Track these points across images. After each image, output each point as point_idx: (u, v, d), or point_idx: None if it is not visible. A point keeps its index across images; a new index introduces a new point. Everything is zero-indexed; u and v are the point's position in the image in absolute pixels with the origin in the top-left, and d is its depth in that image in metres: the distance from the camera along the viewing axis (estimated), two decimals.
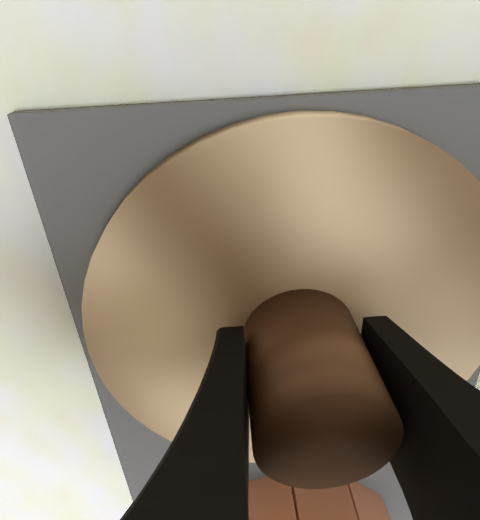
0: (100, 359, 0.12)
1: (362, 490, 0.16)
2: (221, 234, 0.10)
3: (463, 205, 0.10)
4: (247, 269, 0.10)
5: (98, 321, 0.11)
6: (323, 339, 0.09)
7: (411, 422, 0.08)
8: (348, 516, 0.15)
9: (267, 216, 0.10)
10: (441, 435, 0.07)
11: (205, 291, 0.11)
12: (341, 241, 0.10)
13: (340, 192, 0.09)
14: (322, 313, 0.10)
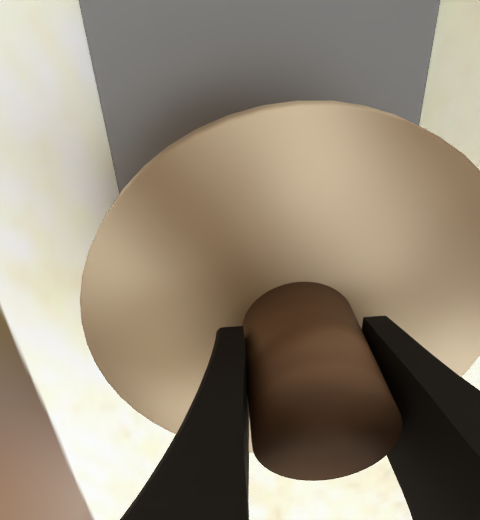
0: (100, 352, 0.12)
1: None
2: (220, 227, 0.10)
3: (464, 197, 0.10)
4: (246, 262, 0.10)
5: (97, 315, 0.11)
6: (322, 333, 0.09)
7: (411, 423, 0.08)
8: None
9: (266, 209, 0.09)
10: (441, 435, 0.07)
11: (204, 284, 0.10)
12: (340, 234, 0.10)
13: (340, 184, 0.09)
14: (321, 306, 0.10)
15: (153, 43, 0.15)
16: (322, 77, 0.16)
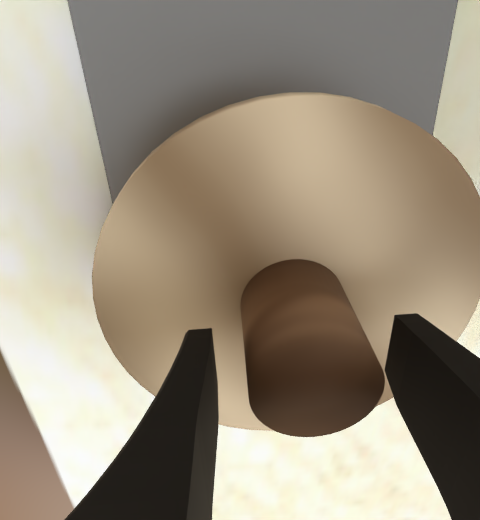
0: (109, 327, 0.12)
1: None
2: (220, 207, 0.11)
3: (440, 179, 0.11)
4: (244, 240, 0.11)
5: (107, 290, 0.12)
6: (312, 299, 0.10)
7: (450, 419, 0.08)
8: None
9: (261, 190, 0.10)
10: None
11: (205, 261, 0.11)
12: (329, 213, 0.11)
13: (328, 167, 0.10)
14: (312, 279, 0.11)
15: (148, 44, 0.14)
16: (330, 81, 0.15)
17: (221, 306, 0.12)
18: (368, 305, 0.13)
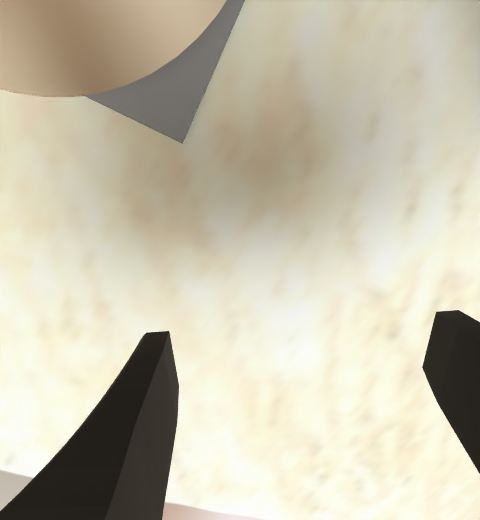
0: None
1: None
2: None
3: None
4: None
5: None
6: None
7: None
8: None
9: None
10: None
11: None
12: None
13: None
14: None
15: None
16: None
17: None
18: None
